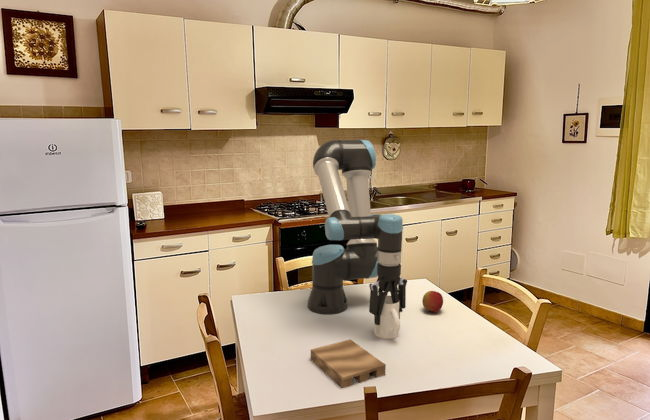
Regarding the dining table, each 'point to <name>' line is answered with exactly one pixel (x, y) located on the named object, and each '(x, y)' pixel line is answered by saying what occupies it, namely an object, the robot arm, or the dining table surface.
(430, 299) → the apple
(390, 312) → the mug
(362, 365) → the wooden pallet
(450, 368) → the dining table surface
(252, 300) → the dining table surface
